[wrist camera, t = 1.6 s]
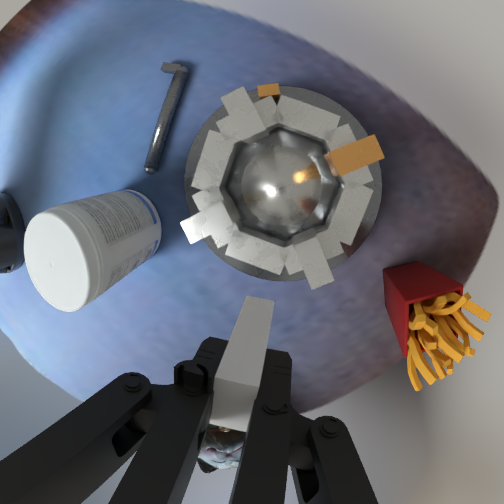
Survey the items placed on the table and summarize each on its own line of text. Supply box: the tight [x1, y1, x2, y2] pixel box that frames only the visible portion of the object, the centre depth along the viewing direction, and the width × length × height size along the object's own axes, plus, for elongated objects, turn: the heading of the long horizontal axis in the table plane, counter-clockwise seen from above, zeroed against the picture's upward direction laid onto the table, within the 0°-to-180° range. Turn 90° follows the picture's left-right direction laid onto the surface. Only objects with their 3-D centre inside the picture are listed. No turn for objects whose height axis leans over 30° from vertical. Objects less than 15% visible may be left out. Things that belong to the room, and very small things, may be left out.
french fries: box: [383, 261, 491, 391], centre depth 24 cm, size 9×8×15 cm
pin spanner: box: [144, 62, 189, 175], centre depth 28 cm, size 14×3×2 cm, turn 161°
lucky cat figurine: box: [197, 420, 246, 473], centre depth 34 cm, size 15×12×14 cm
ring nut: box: [180, 87, 385, 290], centre depth 24 cm, size 16×16×6 cm
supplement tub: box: [24, 190, 162, 312], centre depth 26 cm, size 10×10×15 cm
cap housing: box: [184, 83, 382, 281], centre depth 27 cm, size 20×20×6 cm
